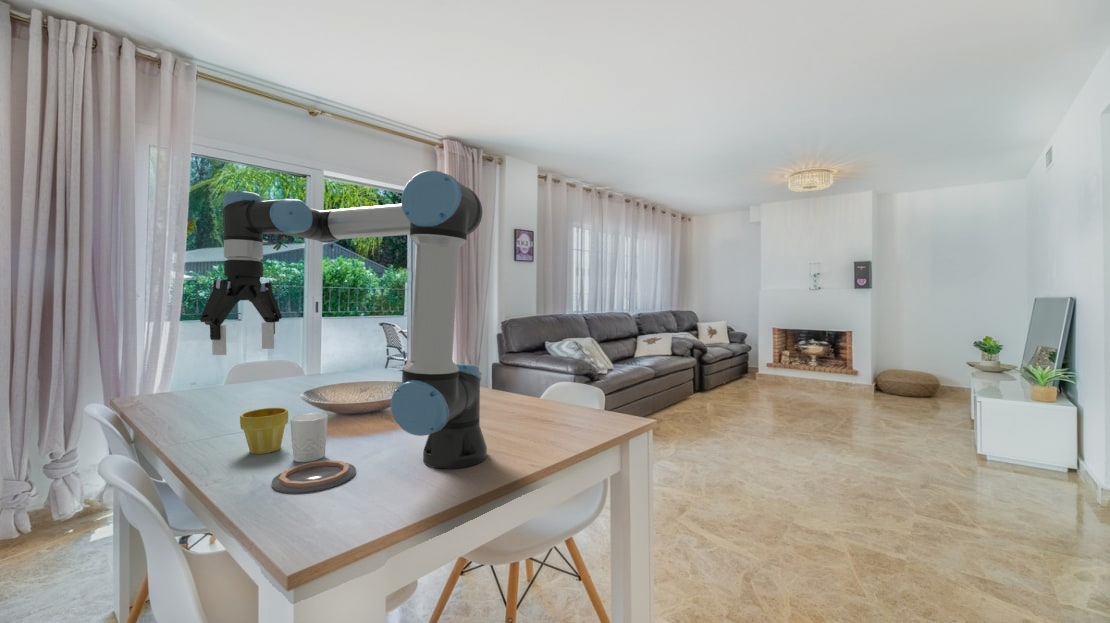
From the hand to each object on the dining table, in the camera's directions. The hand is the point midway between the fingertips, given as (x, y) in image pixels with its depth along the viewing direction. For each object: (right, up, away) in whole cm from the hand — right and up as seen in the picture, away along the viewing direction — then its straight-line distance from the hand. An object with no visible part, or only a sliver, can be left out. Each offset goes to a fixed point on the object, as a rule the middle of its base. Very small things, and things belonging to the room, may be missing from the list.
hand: (245, 351), depth 105 cm
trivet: (+20, -27, -8) cm, 34 cm away
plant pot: (-2, -26, +10) cm, 28 cm away
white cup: (+12, -26, +5) cm, 30 cm away
